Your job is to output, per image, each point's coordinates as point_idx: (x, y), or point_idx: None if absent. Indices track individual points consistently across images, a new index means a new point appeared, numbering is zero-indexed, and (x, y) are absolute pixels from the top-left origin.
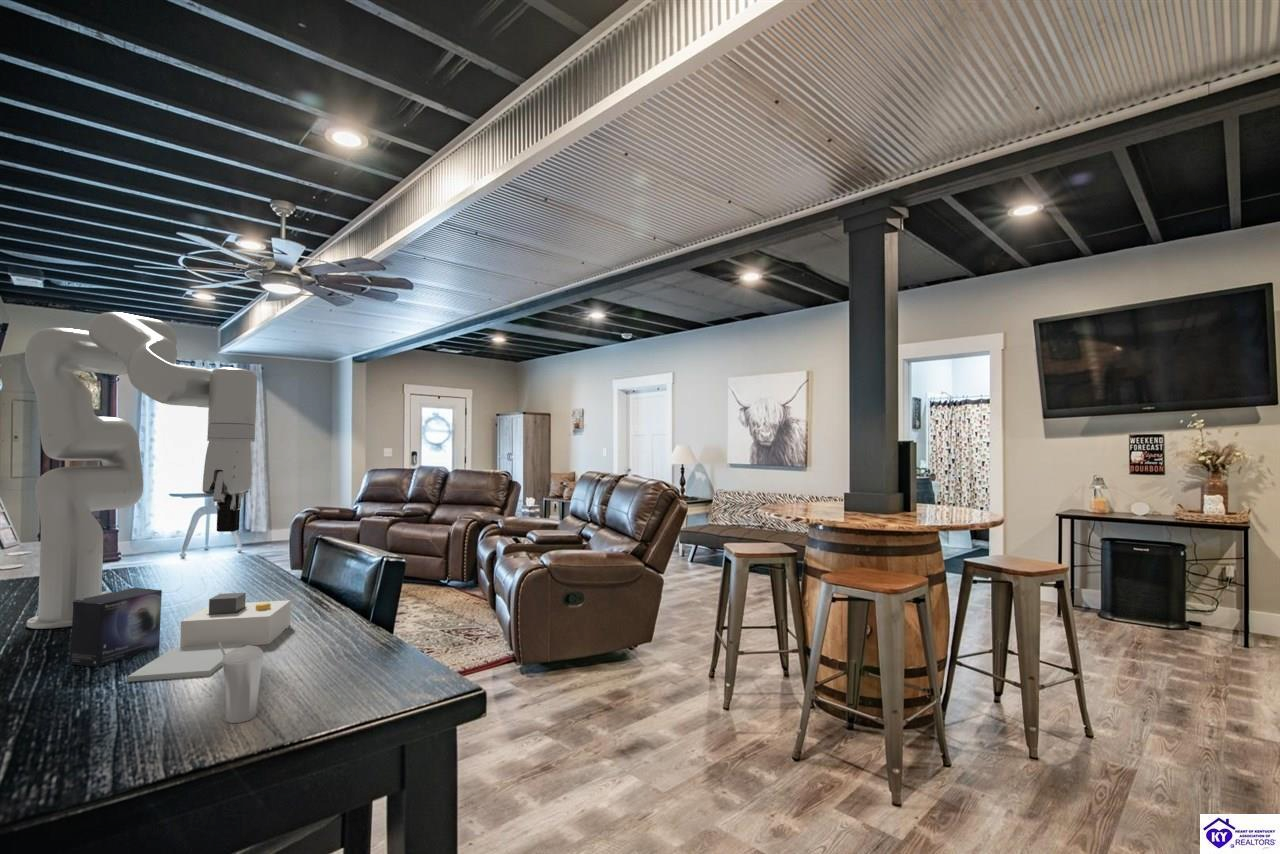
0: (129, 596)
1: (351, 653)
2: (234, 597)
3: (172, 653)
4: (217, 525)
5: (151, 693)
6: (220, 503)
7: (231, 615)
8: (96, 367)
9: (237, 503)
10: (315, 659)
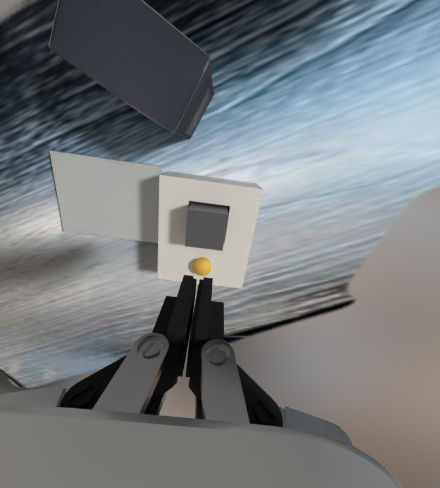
0: (113, 84)
1: (117, 328)
2: (190, 242)
3: (133, 173)
4: (181, 286)
5: (19, 190)
6: (104, 382)
7: (175, 234)
8: None
9: (195, 409)
10: (104, 305)
